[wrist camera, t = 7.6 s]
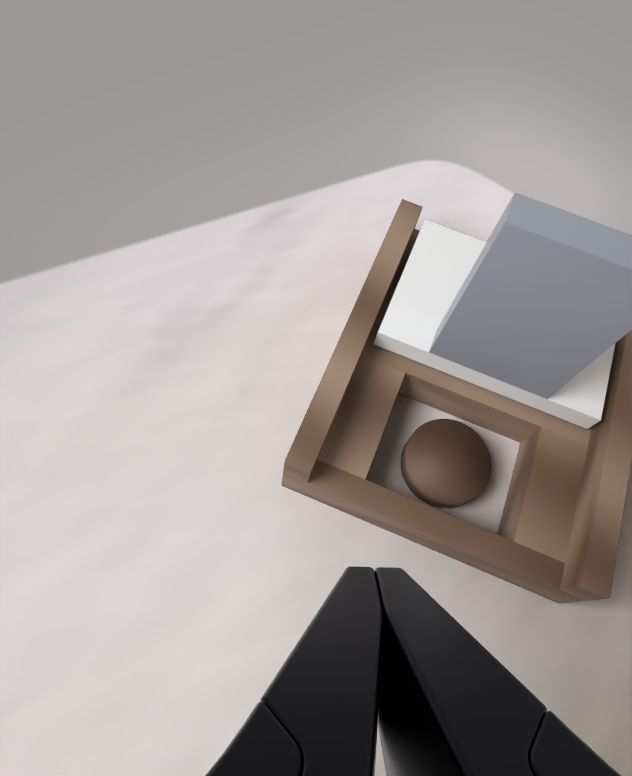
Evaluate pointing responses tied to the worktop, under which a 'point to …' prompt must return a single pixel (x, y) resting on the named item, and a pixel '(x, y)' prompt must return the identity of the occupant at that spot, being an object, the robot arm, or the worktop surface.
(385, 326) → the lid
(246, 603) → the worktop surface
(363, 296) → the board
